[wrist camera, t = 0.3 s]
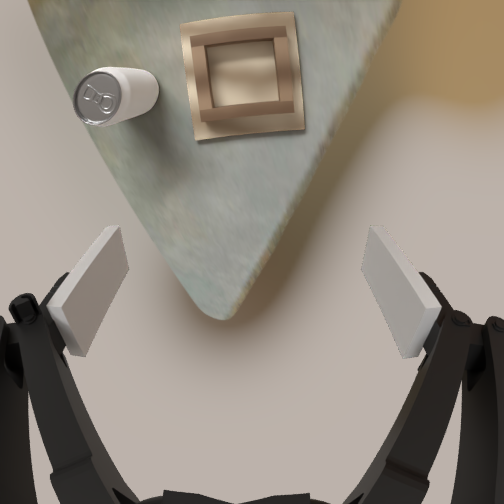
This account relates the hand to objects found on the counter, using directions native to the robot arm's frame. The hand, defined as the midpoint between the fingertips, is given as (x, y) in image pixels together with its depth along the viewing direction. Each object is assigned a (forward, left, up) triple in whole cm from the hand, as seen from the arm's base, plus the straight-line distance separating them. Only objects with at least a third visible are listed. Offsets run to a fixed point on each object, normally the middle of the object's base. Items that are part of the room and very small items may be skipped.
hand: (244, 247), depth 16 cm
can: (-10, -14, -27) cm, 32 cm away
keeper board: (-10, 0, -27) cm, 28 cm away
